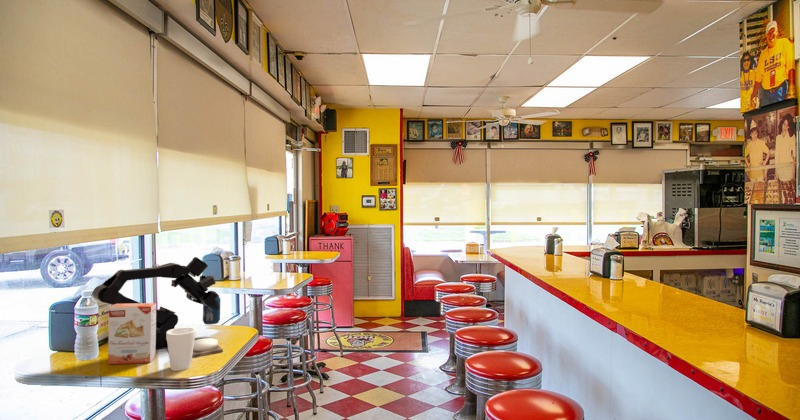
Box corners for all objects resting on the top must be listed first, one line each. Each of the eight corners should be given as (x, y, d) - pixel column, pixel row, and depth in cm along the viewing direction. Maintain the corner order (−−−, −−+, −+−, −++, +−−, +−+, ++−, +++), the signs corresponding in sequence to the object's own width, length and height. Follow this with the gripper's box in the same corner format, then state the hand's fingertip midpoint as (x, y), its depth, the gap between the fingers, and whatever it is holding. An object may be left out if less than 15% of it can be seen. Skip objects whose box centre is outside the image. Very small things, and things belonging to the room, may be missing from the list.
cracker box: (107, 365, 157) (108, 306, 157) (114, 359, 163) (115, 303, 163) (150, 363, 160) (150, 305, 160) (156, 357, 166) (156, 302, 166)
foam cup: (167, 364, 159) (167, 328, 159) (195, 361, 163) (196, 326, 163) (164, 374, 150) (165, 335, 150) (194, 370, 154) (195, 333, 154)
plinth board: (178, 360, 163) (178, 352, 163) (168, 349, 176) (168, 341, 176) (222, 351, 174) (222, 344, 174) (210, 341, 186) (210, 334, 186)
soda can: (216, 320, 199) (217, 293, 199) (222, 323, 194) (222, 296, 194) (200, 322, 194) (201, 295, 194) (205, 325, 189) (206, 297, 189)
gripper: (213, 272, 185) (238, 295, 193) (194, 268, 197) (217, 289, 205) (194, 294, 179) (220, 316, 187) (175, 287, 191) (200, 309, 200)
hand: (214, 307), depth 195 cm, fingers closed on soda can, 7 cm apart
